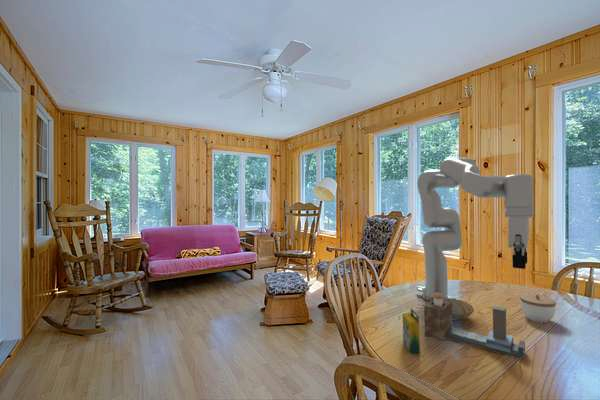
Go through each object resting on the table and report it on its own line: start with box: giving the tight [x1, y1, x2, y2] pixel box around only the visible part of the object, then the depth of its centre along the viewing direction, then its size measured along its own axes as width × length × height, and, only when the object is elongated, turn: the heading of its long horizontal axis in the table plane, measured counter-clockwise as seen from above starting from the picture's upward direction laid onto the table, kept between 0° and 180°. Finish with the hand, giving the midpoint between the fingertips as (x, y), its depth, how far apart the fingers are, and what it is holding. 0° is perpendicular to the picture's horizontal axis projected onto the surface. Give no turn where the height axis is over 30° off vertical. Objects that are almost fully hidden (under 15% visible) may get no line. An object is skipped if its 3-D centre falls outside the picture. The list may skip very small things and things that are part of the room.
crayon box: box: [402, 307, 421, 355], centre depth 93 cm, size 7×3×12 cm, turn 178°
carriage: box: [486, 305, 514, 353], centre depth 91 cm, size 6×7×11 cm
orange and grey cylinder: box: [433, 293, 443, 307], centre depth 103 cm, size 3×3×7 cm
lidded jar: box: [519, 294, 557, 323], centre depth 113 cm, size 11×11×9 cm
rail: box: [445, 326, 526, 360], centre depth 94 cm, size 21×5×3 cm, turn 48°
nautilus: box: [415, 296, 475, 321], centre depth 118 cm, size 8×22×15 cm
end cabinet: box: [423, 299, 453, 341], centre depth 103 cm, size 6×10×10 cm, turn 138°
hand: (520, 265), depth 95 cm, fingers open, 9 cm apart
